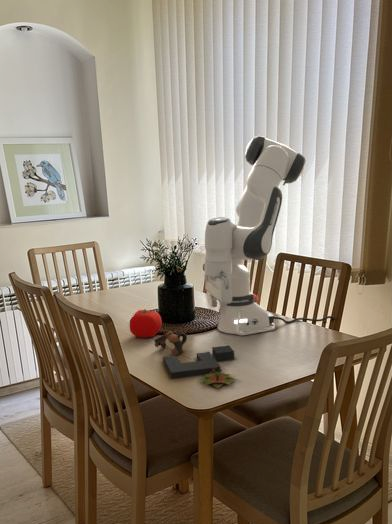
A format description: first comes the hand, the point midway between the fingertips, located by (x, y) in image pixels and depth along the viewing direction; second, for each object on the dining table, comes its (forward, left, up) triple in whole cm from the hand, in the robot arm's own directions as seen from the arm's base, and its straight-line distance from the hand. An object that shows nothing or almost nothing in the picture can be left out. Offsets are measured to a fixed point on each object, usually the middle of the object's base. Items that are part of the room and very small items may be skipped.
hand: (218, 310), depth 182 cm
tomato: (+20, -29, -17) cm, 39 cm away
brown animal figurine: (+14, -10, -17) cm, 24 cm away
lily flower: (+6, +20, -17) cm, 27 cm away
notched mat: (+11, +7, -17) cm, 21 cm away
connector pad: (-1, +1, -17) cm, 17 cm away
